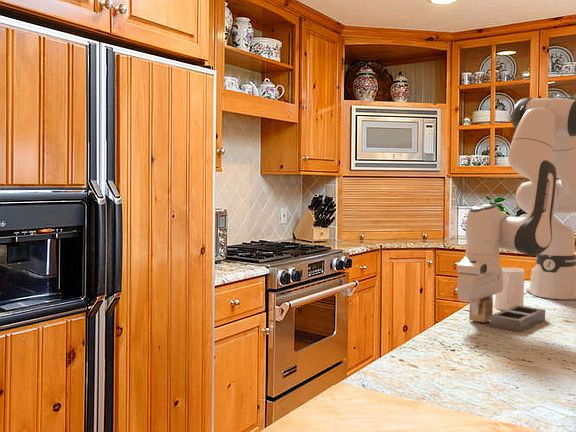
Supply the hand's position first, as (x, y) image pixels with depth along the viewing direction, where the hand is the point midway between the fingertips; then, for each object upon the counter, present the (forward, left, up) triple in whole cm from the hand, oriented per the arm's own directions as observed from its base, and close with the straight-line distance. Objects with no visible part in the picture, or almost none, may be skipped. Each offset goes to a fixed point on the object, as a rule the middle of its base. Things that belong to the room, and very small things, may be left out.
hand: (481, 312), depth 152 cm
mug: (-20, -1, -3) cm, 20 cm away
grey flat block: (-5, +8, -2) cm, 10 cm away
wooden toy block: (0, 0, -2) cm, 2 cm away
